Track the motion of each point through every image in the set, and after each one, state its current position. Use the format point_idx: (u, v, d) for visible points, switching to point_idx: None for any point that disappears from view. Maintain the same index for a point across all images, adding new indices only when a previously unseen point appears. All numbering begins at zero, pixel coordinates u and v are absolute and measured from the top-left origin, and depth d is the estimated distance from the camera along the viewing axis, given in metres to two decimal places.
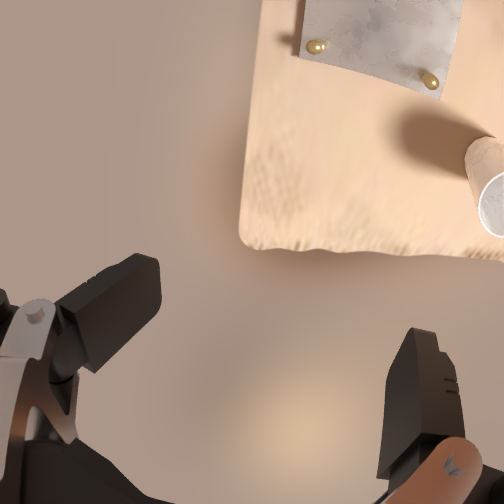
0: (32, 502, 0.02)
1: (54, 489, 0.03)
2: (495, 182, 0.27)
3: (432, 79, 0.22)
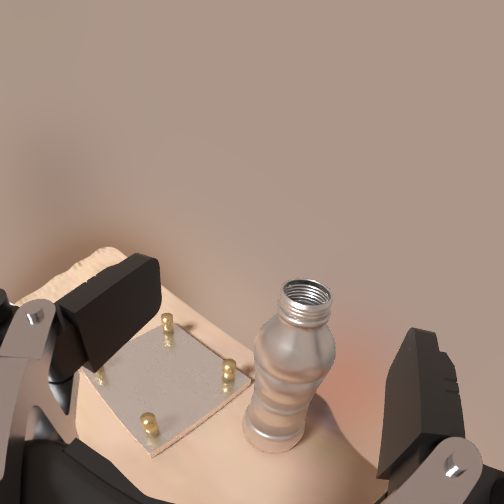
0: (32, 502, 0.02)
1: (54, 489, 0.03)
2: None
3: None
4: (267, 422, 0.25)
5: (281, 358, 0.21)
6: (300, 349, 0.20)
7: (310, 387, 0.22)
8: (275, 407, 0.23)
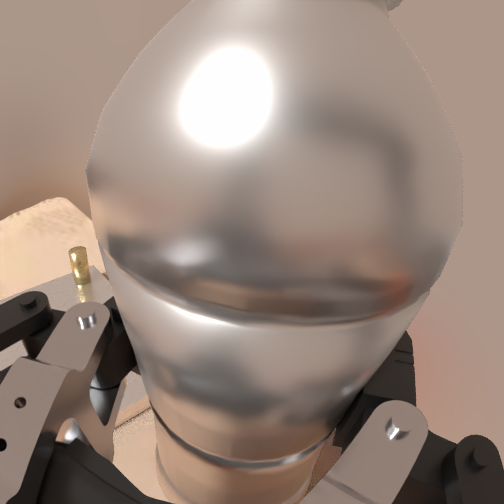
0: None
1: (54, 489, 0.03)
2: None
3: None
4: (193, 478, 0.07)
5: (162, 97, 0.03)
6: (289, 20, 0.02)
7: (365, 357, 0.04)
8: (200, 445, 0.05)
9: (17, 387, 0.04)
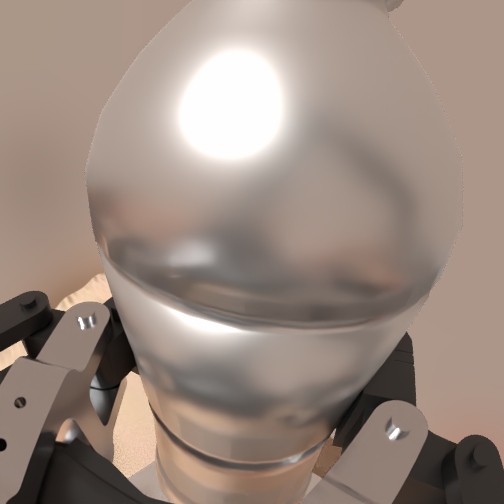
0: None
1: (54, 489, 0.03)
2: None
3: None
4: (192, 479, 0.07)
5: (161, 99, 0.03)
6: (288, 22, 0.02)
7: (363, 360, 0.04)
8: (199, 446, 0.05)
9: (17, 387, 0.04)
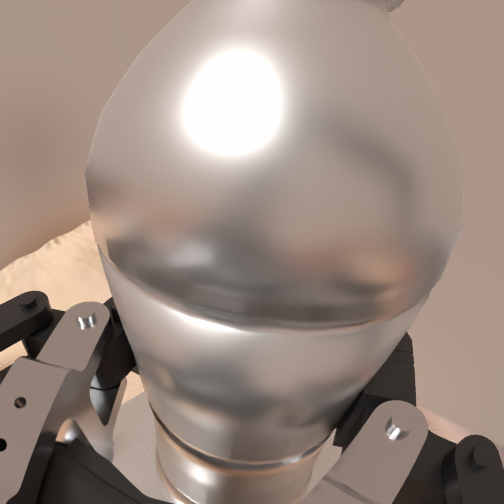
0: None
1: (54, 489, 0.03)
2: None
3: None
4: (192, 479, 0.07)
5: (161, 100, 0.03)
6: (288, 22, 0.02)
7: (364, 360, 0.04)
8: (200, 446, 0.05)
9: (17, 387, 0.04)
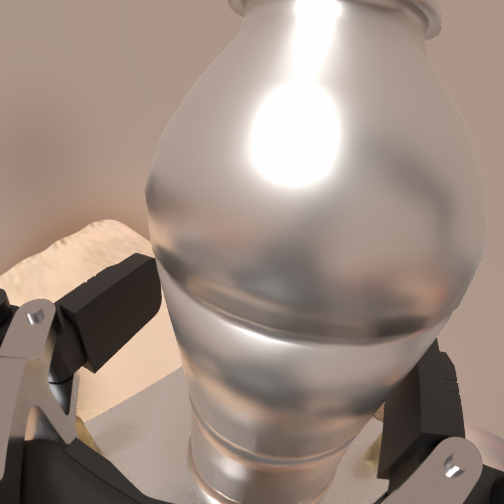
0: (32, 502, 0.02)
1: (54, 489, 0.03)
2: None
3: None
4: (232, 478, 0.07)
5: (246, 147, 0.03)
6: (361, 77, 0.03)
7: (406, 363, 0.04)
8: (248, 447, 0.06)
9: None
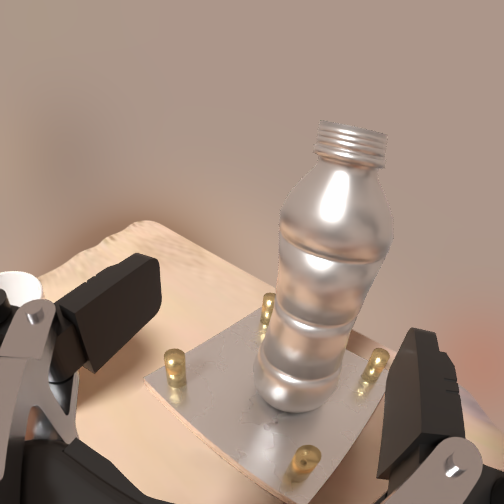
0: (32, 502, 0.02)
1: (54, 489, 0.03)
2: None
3: (176, 358, 0.21)
4: (293, 353, 0.18)
5: (325, 213, 0.14)
6: (353, 198, 0.14)
7: (365, 275, 0.15)
8: (309, 321, 0.17)
9: None
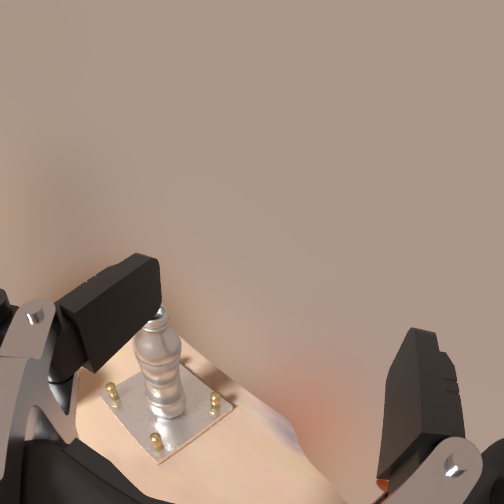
0: (32, 502, 0.02)
1: (54, 489, 0.03)
2: None
3: (111, 387, 0.41)
4: (150, 392, 0.38)
5: (140, 348, 0.34)
6: (148, 344, 0.34)
7: (162, 370, 0.35)
8: (149, 381, 0.37)
9: None
